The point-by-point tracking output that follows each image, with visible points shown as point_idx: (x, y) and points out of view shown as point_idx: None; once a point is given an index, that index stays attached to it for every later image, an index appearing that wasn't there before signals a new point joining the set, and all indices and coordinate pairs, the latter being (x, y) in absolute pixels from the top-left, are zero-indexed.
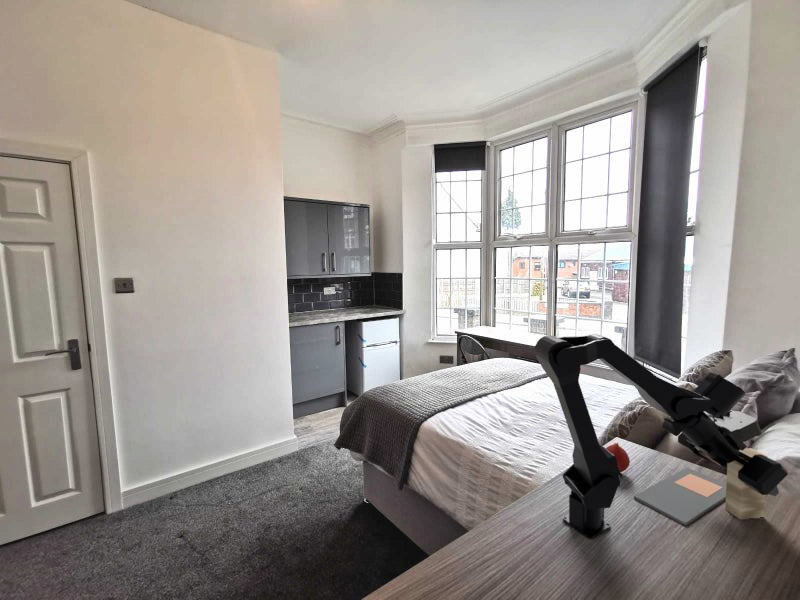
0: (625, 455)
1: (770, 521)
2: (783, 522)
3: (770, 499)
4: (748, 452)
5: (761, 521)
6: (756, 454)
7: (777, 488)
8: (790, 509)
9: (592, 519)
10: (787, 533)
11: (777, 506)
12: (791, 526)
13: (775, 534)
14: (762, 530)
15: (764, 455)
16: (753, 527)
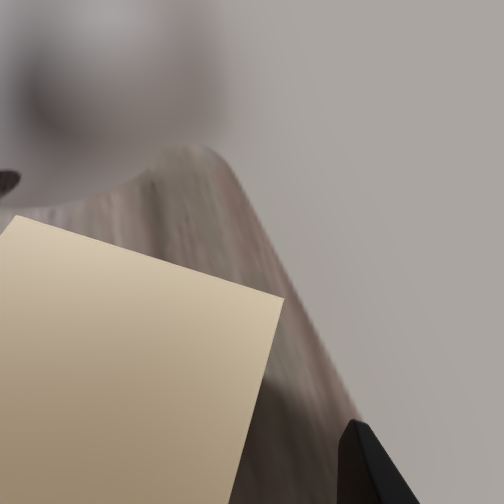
0: None
1: (269, 368)
2: (289, 331)
3: (203, 225)
4: (15, 473)
5: (257, 402)
6: (156, 416)
7: (402, 480)
8: (257, 231)
9: None
10: (331, 393)
11: (232, 248)
12: (311, 331)
13: (322, 448)
14: (291, 472)
15: (251, 318)
16: (266, 488)
